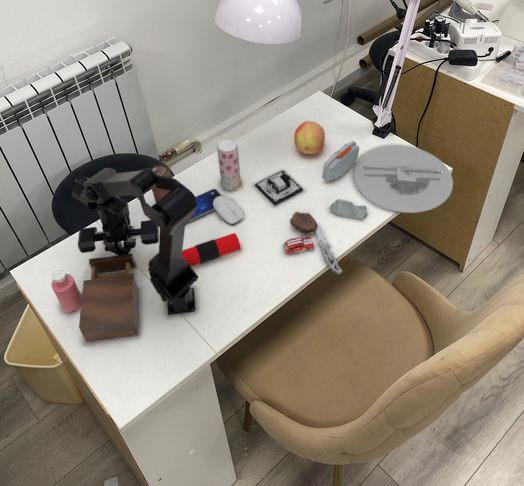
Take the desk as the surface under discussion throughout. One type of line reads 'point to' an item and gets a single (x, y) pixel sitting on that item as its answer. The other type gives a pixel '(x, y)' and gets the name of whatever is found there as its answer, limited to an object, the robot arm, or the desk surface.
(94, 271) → the drawer
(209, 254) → the dynamite stick
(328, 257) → the knife
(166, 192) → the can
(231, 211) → the computer mouse
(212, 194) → the smartphone
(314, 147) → the apple
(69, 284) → the lotion bottle
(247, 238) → the desk surface
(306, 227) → the stone
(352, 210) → the stone tool
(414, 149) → the plate
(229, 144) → the beverage can
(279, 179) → the light switch
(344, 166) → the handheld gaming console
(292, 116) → the desk surface
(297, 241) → the toy car
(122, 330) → the cabinet
